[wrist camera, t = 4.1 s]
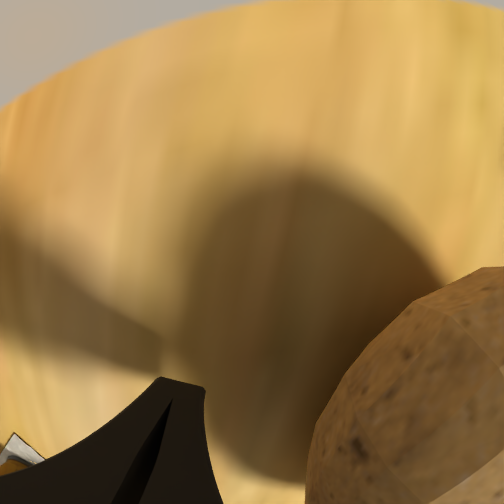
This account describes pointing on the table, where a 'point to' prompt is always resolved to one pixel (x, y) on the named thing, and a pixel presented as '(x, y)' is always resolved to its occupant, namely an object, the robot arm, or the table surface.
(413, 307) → the potato
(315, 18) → the table surface
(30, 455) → the condiment
